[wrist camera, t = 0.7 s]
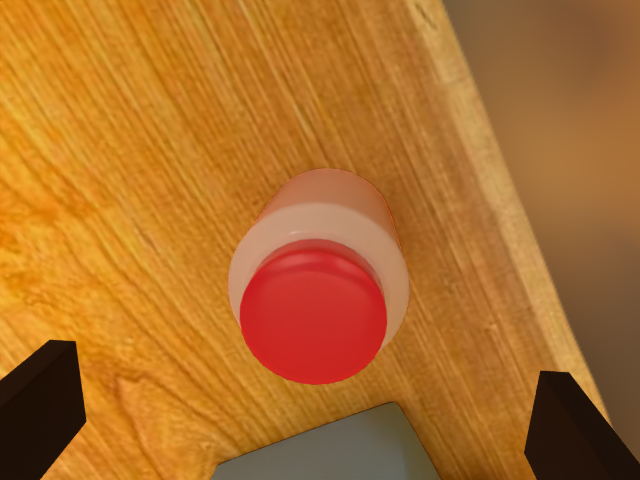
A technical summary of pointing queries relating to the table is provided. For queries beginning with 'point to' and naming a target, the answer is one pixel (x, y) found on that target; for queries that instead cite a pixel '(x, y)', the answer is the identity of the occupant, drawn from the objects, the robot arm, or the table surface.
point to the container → (341, 452)
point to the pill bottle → (320, 278)
